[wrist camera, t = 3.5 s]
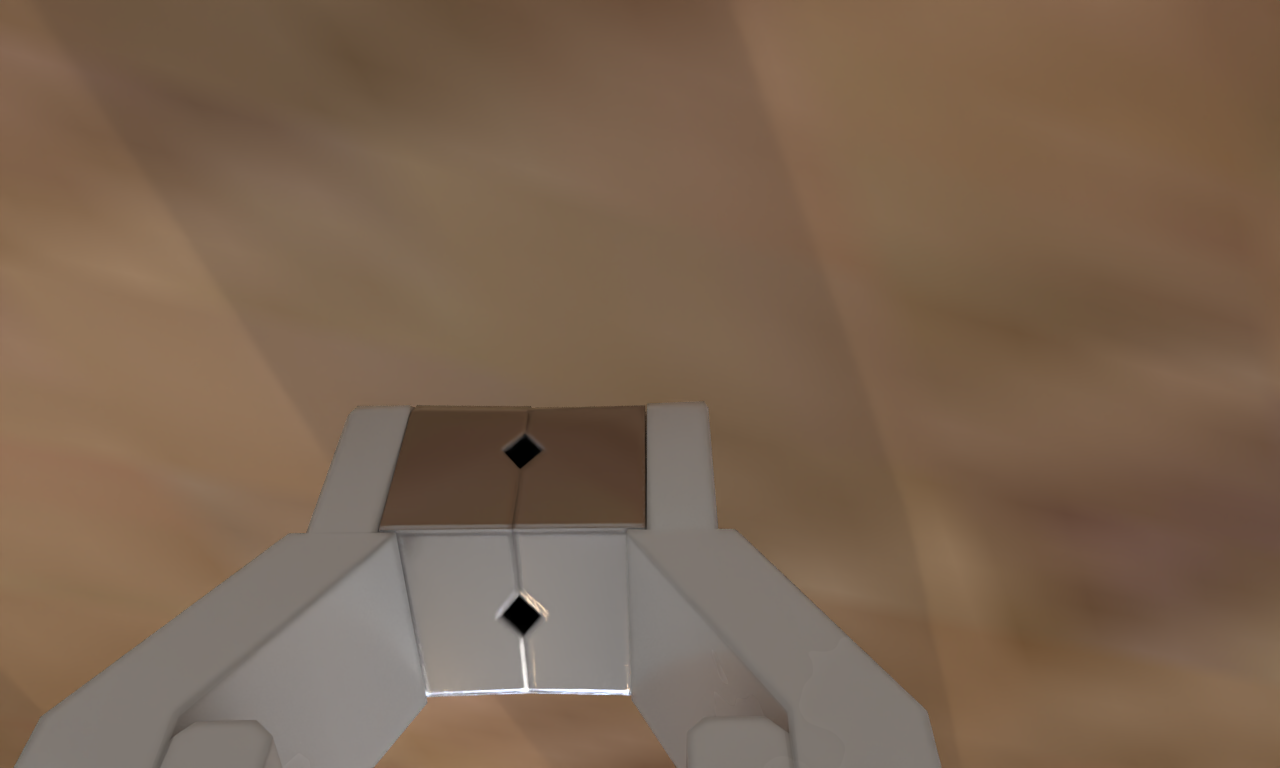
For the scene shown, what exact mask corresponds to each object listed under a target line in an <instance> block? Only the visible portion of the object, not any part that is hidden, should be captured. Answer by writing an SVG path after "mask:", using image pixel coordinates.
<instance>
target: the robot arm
mask: <svg viewBox="0 0 1280 768" xmlns="http://www.w3.org/2000/svg"><path fill="white" fill-rule="evenodd" d="M646 445H647V458H646ZM524 693H538V694H594V695H632V701H633V703H634V704H635V706H636V707H637V709H638V710H639V712H640V713H641V715H642V716H643V718H644V719H645V721H646V722H647V724H648V725H649V727H650V728H651V730H652V731H653V733H654V734H655V736H656V737H657V739H658V740H659V742H660V743H661V745H662V746H663V748H664V749H665V751H666V752H667V754H668V755H669V757H670V759H671V760H672V762H673V763H674V765H675V766H676V768H942V767H941V763H940V759H939V756H938V752H937V748H936V744H935V740H934V736H933V732H932V728H931V724H930V720H929V716H928V712H927V710H925V709H924V708H923V707H922V706H921V705H920V704H919V703H918V702H917V701H916V700H915V699H914V698H913V697H912V696H911V695H910V694H909V693H908V692H907V691H905V690H904V689H903V688H902V687H901V686H900V685H899V684H898V683H897V682H896V681H895V680H894V679H893V678H892V677H891V676H890V675H889V674H888V673H887V672H886V671H884V670H883V669H882V668H881V667H880V666H879V665H878V664H877V663H876V662H875V661H874V660H873V659H872V658H871V657H870V656H869V655H868V654H867V653H866V652H864V651H863V650H862V649H861V648H860V647H859V646H858V645H857V644H856V643H855V642H854V641H853V640H852V639H851V638H850V637H849V636H848V635H847V634H846V633H845V632H843V631H842V630H841V629H840V628H839V627H838V626H837V625H836V624H835V623H834V622H833V621H832V620H831V619H830V618H829V617H828V616H827V615H826V614H825V613H823V612H822V611H821V610H820V609H819V608H818V607H817V606H816V605H815V604H814V603H813V602H812V601H811V600H810V599H809V598H808V597H807V596H806V595H805V594H803V593H802V592H801V591H800V590H799V589H798V588H797V587H796V586H795V585H794V584H793V583H792V582H791V581H790V580H789V579H788V578H787V577H786V576H785V575H784V574H782V573H781V572H780V571H779V570H778V569H777V568H776V567H775V566H774V565H773V564H772V563H771V562H770V561H769V560H768V559H767V558H766V557H765V556H764V555H762V554H761V553H760V552H759V551H758V550H757V549H756V548H755V547H754V546H753V545H752V544H751V543H750V542H749V541H748V540H747V539H746V538H745V537H744V536H743V535H741V534H740V533H739V532H738V531H737V530H736V529H718V520H717V508H716V496H715V484H714V472H713V460H712V447H711V435H710V423H709V411H708V407H707V405H706V404H705V402H704V401H699V402H674V403H650V404H647V413H646V412H645V406H590V407H535V408H532V407H531V406H434V405H417V406H416V407H413V406H410V405H403V406H357V407H356V408H355V409H354V410H353V411H352V412H351V413H350V414H349V415H348V416H347V419H346V422H345V425H344V428H343V430H342V433H341V436H340V439H339V442H338V445H337V447H336V450H335V453H334V456H333V459H332V461H331V464H330V467H329V470H328V473H327V476H326V478H325V481H324V484H323V487H322V490H321V492H320V495H319V498H318V501H317V504H316V507H315V509H314V512H313V515H312V518H311V521H310V523H309V526H308V529H307V532H306V533H289V534H287V535H286V536H284V537H283V538H282V539H280V540H279V541H278V542H276V543H275V544H274V545H272V546H271V547H270V548H268V549H267V550H266V551H264V552H263V553H261V554H260V555H259V556H257V557H256V558H255V559H253V560H252V561H251V562H249V563H248V564H247V565H245V566H244V567H243V568H241V569H240V570H239V571H237V572H236V573H234V574H233V575H232V576H230V577H229V578H228V579H226V580H225V581H224V582H222V583H221V584H220V585H218V586H217V587H216V588H214V589H213V590H211V591H210V592H209V593H207V594H206V595H205V596H203V597H202V598H201V599H199V600H198V601H197V602H195V603H194V604H193V605H191V606H190V607H189V608H187V609H186V610H184V611H183V612H182V613H180V614H179V615H178V616H176V617H175V618H174V619H172V620H171V621H170V622H168V623H167V624H166V625H164V626H163V627H161V628H160V629H159V630H157V631H156V632H155V633H153V634H152V635H151V636H149V637H148V638H147V639H145V640H144V641H143V642H141V643H140V644H139V645H137V646H136V647H134V648H133V649H132V650H130V651H129V652H128V653H126V654H125V655H124V656H122V657H121V658H120V659H118V660H117V661H116V662H114V663H113V664H111V665H110V666H109V667H107V668H106V669H105V670H103V671H102V672H101V673H99V674H98V675H97V676H95V677H94V678H93V679H91V680H90V681H89V682H87V683H86V684H84V685H83V686H82V687H80V688H79V689H78V690H76V691H75V692H74V693H72V694H71V695H70V696H68V697H67V698H66V699H64V700H63V701H61V702H60V703H59V704H57V705H56V706H55V707H53V708H52V709H51V710H49V711H48V712H47V713H45V714H44V715H43V716H41V717H40V719H39V721H38V723H37V725H36V727H35V729H34V730H33V732H32V734H31V736H30V738H29V740H28V742H27V744H26V745H25V747H24V749H23V751H22V753H21V755H20V757H19V759H18V760H17V762H16V764H15V766H14V768H374V766H375V765H376V764H377V763H378V762H379V760H380V759H381V758H382V757H383V756H384V754H385V753H386V752H387V751H388V750H389V748H390V747H391V746H392V745H393V744H394V742H395V741H396V740H397V739H398V738H399V736H400V735H401V734H402V733H403V732H404V730H405V729H406V728H407V727H408V726H409V724H410V723H411V722H412V721H413V720H414V718H415V717H416V716H417V715H418V714H419V712H420V711H421V710H422V709H423V707H424V706H425V705H426V704H427V698H426V697H440V696H468V695H496V694H524Z"/></svg>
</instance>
